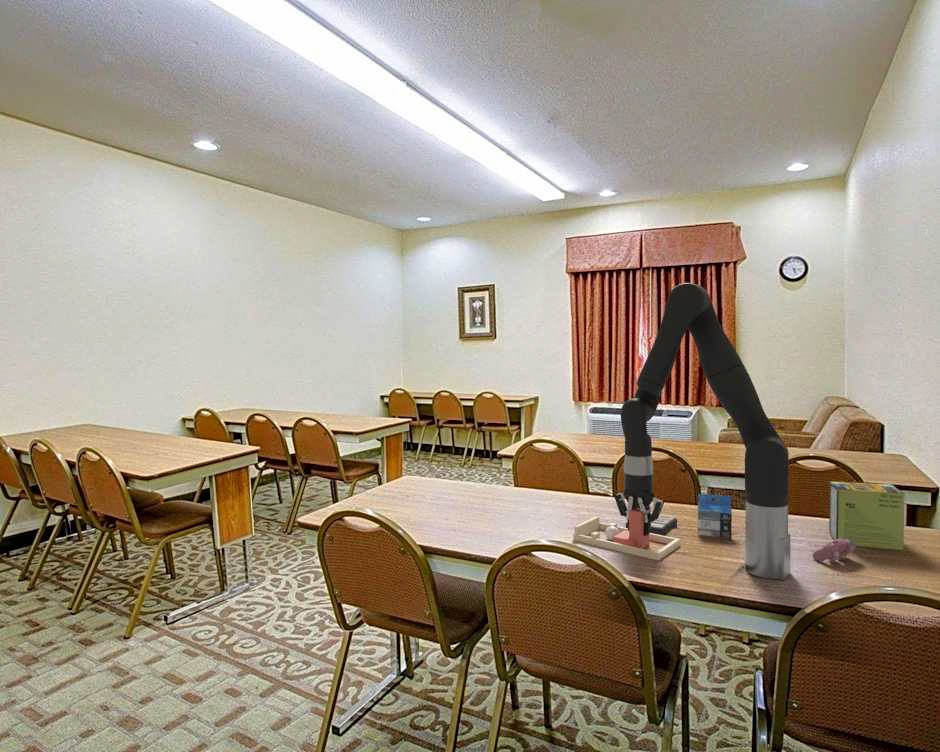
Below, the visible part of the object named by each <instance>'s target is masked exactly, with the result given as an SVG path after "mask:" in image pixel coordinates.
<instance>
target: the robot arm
mask: <svg viewBox="0 0 940 752" xmlns="http://www.w3.org/2000/svg"><path fill="white" fill-rule="evenodd" d="M687 330H688V331H689V333H690V335H691V337H692V339H693V340H694V343H695V345H696V346H695V347H696V350H697V354H698V358H699V362H700V367H701V369H702V372H703V374H704V377H705V379H706V381H707V382H708V385H709V387H710V389H711V391H712V392H713V394H714V396H715V398H716V399H717V400H718V402H719V403H720V405H721V406H722V408H723V409H724V410H725V411H726V413H727V414H728V415H729V417H730V418H731V419H732V421H733V422H734V424H735V426H736V428H737V430H738V432H739V435H740V438H741V439H742V442H743V446H744V448H745V453H744V493H745V528H744V530H745V532H744V533H745V549H744V550H745V552H744V553H745V559H744V561H745V566H744V567H745V571H746V572H747V573H749V574H750V575H753V576H754V577H755V576H756V577H758V578H763V579H770V580H780V581H781V580H783V581H785V580H786V578H787V577H788V576H789V575H790V574H791V534H790V533H789V473H790V472H789V466H790V465H789V463H790V462H789V461H790V460H789V459H790V458H789V457H790V456H789V454H790V453H789V449H788V447H787V445H786V443H785V442H784V441H783V439H782V438H781V436H780V435H779V434H778V433H779V432H777V431H776V429H775V427H774V425H773V424H772V423H771V421H770V419H769V418H768V416H767V414H766V412H765V411H764V408H763V405H762V403H761V399H760V397H759V395H758V393H757V390H756V388H755V385H754V383H753V381H752V378H751V376H750V374H749V372H748V370H747V369H746V366H745V364H744V363H743V361H742V359H741V357H740V356H739V354H738V352H737V350H736V349H735V347H734V345H733V344H732V341H731V340H730V339H729V337H728V336H727V334H726V332H725V330H724V329H723V328H722V325H721V323H720V321H719V318H718V316H717V313H716V311H715V307H714V306H713V303H712V298H711V297H710V294H709V293H708V291H707V290H706V288H704V287H703V286H701V285H699V284H695V283H692V282H684V283H680V284H678V285H676V286H674V288H672V289H671V291H670V292H669V295H668V297H667V301H666V304H665V308H664V312H663V315H662V319H661V323H660V326H659V329H658V331H657V334H656V337H655V339H654V342H653V345H652V346H651V348H650V351H649V354H648V355H647V357H646V360H645V362H644V364H643V367H642V369H641V371H640V372H639V375H638V378H637V380H636V385H637V389H636V392H635V394H634V397H633V398H630V399H628V400H626V401H625V402H624V403H623V404H622V406H621V409H620V420H621V421H620V422H621V428H622V432H623V436H624V460H623V478H624V479H623V484H624V491H623V492H619V493H617V494H615V495H614V496H613V497H614V500H615V503H616V505H617V509H618V512H619V514H620V516H622V517H625V518H626V520H627V521H626V523H627V529H628V530H629V510H632V509H634V508H638V509H640V510H641V512H642V513H643V519H644V536H648V535H649V534H650V533H651V522H653V521H655V520H657V519H658V517H659V515H661V512H662V509H663V506H664V504H665V501H664V500H663V499H659V498H656V497H655V493H654V463H653V455H652V454H653V453H652V452H653V451H652V449H653V448H652V445H653V444H652V442H653V441H652V437H651V435H650V434H649V433H648V428H647V427H648V426H647V422H649V421H651V420H652V418H653V417H654V415H655V413H656V411H657V409H658V406H659V402H660V399H661V396H662V395H661V394H662V391H663V389H664V388H665V387H666V384H667V382H668V379H669V377H670V375H671V374H672V371H673V368H674V366H675V362H676V358H677V355H678V351H679V348H680V345H681V343H682V340H683V338H684V336H685V334H686V333H687ZM625 500H626V502H627V504H626V502H625ZM652 503H653V504H652ZM651 504H652V505H653V510H651ZM651 513H652V515H651Z"/></svg>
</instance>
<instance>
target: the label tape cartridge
mask: <svg viewBox="0 0 940 752" xmlns="http://www.w3.org/2000/svg"><path fill="white" fill-rule="evenodd" d="M697 495H698V499H697V500H698V502H697V535H698V536H706V537H714V538H720V539H723V540H728V541H729V540H730V541H732V523H733V522H732V521H733V520H732V518H733V517H732V515H733V514H732V505H731V497H732V496H731V495H722V494H721V495H720V494H707V493H698V494H697ZM713 499H715V500H713ZM717 500H719V501H717Z"/></svg>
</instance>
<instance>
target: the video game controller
mask: <svg viewBox="0 0 940 752" xmlns="http://www.w3.org/2000/svg"><path fill="white" fill-rule="evenodd" d="M856 547H857V546H856V545H855V544H854V543H853V542H852V541H848V540H847V539H835V540H834V539H833V541H830V542H829V543H827V544H825V545H824V546H823V547H822V548H819V549H817V550H815V551H814V552H813V553H812V558H813V560H815V561H816V562H817V561H818V562H821V561H826V560H829V561H830V562H831V563H834V562H836V561H837V560H840V561H843V560H844V559H846V557H847V556H848V555H850V554H851V553H852V552H854V550H856Z"/></svg>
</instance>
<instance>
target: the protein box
mask: <svg viewBox="0 0 940 752" xmlns="http://www.w3.org/2000/svg"><path fill="white" fill-rule="evenodd" d="M905 495H906V494H905V493H904V492H903V491H902V490H900V489H898V488H897V487H896V486H894V485H892V484H888V483H870V482H869V483H868V482H845V481H829V521H828V523H829V525H828V529H829V532H830V533H829V532H828V533H829V535H830V534H831V535H832V536H831V535H830V536H831V537H832V539H833V538H834V539H847V540H848V541H852V542H853V543H854V544H855V545H856V547H861V548H862V547H863V548H872V549H873V548H874V549H884V550H886V549H887V550H897V551H904V547H905V544H904V542H905V538H904V537H905V536H904V534H905ZM834 539H833V540H834Z"/></svg>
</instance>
